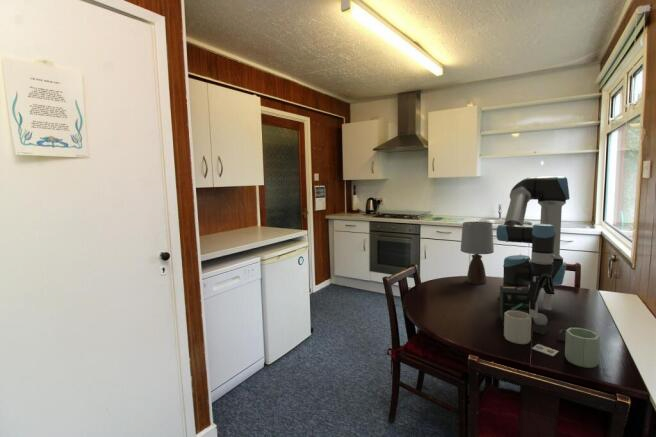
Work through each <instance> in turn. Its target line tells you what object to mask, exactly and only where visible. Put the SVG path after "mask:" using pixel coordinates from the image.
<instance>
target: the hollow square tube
mask: <svg viewBox="0 0 656 437" xmlns="http://www.w3.org/2000/svg"><path fill="white" fill-rule="evenodd" d="M566 330H567V329H563V328H562V329H560V330H559V331H558V332H557V340H560V341H562V342H565V338H566Z"/></svg>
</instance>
